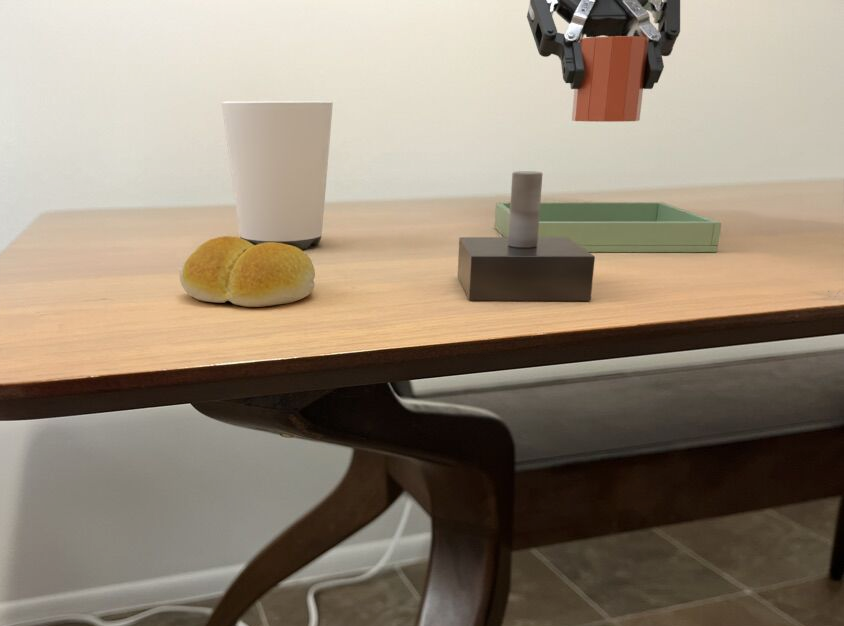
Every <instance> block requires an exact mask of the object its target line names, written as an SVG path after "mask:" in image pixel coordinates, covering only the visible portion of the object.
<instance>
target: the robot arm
mask: <svg viewBox="0 0 844 626" xmlns="http://www.w3.org/2000/svg"><path fill="white" fill-rule="evenodd" d="M554 12H555V13H556V14H557V15H558V16H559V17H560V18H562V19H563V20H564V21H565V22H566V23H567V24H568V26H567V28H566V31H565V33H561V32H558V29H557V26H556V24H555V20H554V18H553V15H554ZM649 12H650V13H651V16H652V18H653V23H654V24H656V25H657V24H658V25H657V28H656V27H655V26H654V25H653V23H652V22H651V21H650V17H651V16H650V14H649ZM526 19H527V22H528V24H529V28H530V30H531V34H532V37H533V40H534V44H535V45H536V49H537V52H538V54H539V55H540V56H541V57H544V58H548V57H550V56H551V55H554V56H556V57H558V59H559V60H560V65H561V73H562V79H563V82H564V83H565V84H569V85H570V90H574V89H580V86H581V83H582V80H583V76H584V64H583V57H582V51H581V45H580V42H579V39H583V38H591V37H609V36H641V37H647V38H649V41H648V50H647V59H646V68H645V76H644V85H643V90H653V88H654V86H655V84H658V83H659V80H660V78H661V75H662V73H663V70H664V68H665V65H664V60H663V57H670V56H671V54H672V52H673V50H674V46H675V44H676V41H677V38H678V37H679V35H680V33H681V0H529V4H528V10H527V14H526ZM585 36H586V37H585Z"/></svg>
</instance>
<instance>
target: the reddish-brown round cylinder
mask: <svg viewBox="0 0 844 626" xmlns="http://www.w3.org/2000/svg"><path fill="white" fill-rule="evenodd" d="M648 41H649V38H647V37H641V36H598V37H583V39H579V42H580V45H581V51H582V57H583V64H584V76H583V80H582V83H581V86H580V89H573V101H572V112H571V121H572V122H595V123H596V122H597V123H598V122H600V123H601V122H605V123H606V122H609V123H610V122H612V123H613V122H616V123H617V122H620V123H622V122H639V121H640V119H641V111H642V102H643V92H644V89H643V85H644V76H645V68H646V59H647V50H648Z"/></svg>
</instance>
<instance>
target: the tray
mask: <svg viewBox="0 0 844 626" xmlns="http://www.w3.org/2000/svg"><path fill="white" fill-rule="evenodd" d="M510 203H511V202H495V209H494V228H495V230H496V231H497V232H498V233H499V234H500V235H502V237H508V235H509V219H510ZM721 228H722V222H721V221H718V220H715V219H713V218H710V217H706V216H704V215H701V214H698V213H695V212H692V211H690V210H686V209H683V208H681V207H677V206H675V205H671V204H668V203H665V202H662V201H658V202H657V201H656V202H653V201H652V202H650V201H649V202H648V201H645V202H641V201H640V202H639V201H637V202H636V201H635V202H634V201H633V202H632V201H631V202H629V201H627V202H623V201H622V202H619V201H617V202H616V201H615V202H613V201H612V202H609V201H608V202H607V201H606V202H602V201H601V202H597V201H596V202H595V201H594V202H591V201H590V202H583V201H582V202H581V201H580V202H578V201H577V202H570V201H569V202H565V201H564V202H558V201H557V202H555V201H553V202H540V215H539V228H538V237H567V238H569V239H570V240H572V241H573V242H574V243H576V244H577V245H579V246H580V247H582V248H583V249H585V250H586V251H587V252H589V253H718V248H719V241H720V234H721V230H722V229H721Z"/></svg>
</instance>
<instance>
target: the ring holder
mask: <svg viewBox="0 0 844 626" xmlns="http://www.w3.org/2000/svg"><path fill="white" fill-rule="evenodd" d="M543 175H544V174H543V172H542V171H537V170H536V171H532V170H520V171H519V170H518V171H513V172H512V174H511V189H510V190H511V191H510V193H511V194H510V202H509V203H510V219H509V235H508V237H504V236H501V237H500V236H497V237H496V236H493V237H492V236H490V237H489V236H461V237H460V236H459V238H458V259H457V278H458V280H459V282H460V284H461V286H462V288H463V291H464V293H465V295H466V296H467V298H468V301H470V302H471V301H472V302H473V301H476V302H477V301H479V302H481V301H482V302H485V301H489V302H491V301H492V302H493V301H494V302H497V301H499V302H501V301H504V302H590V301H591V299H592V291H593V281H594V280H593V279H594V270H595V261H596V256H595V255H593V254H592V253H591V252H587V251H586V250H585V249H583V248H582V247H580V246H579V245H577V244H576V243H574V242H573V241H572V240H570V239H569V238H567V237H538V228H539V215H540V203H542V202H541V201H542V188H543V187H542V186H543Z"/></svg>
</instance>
